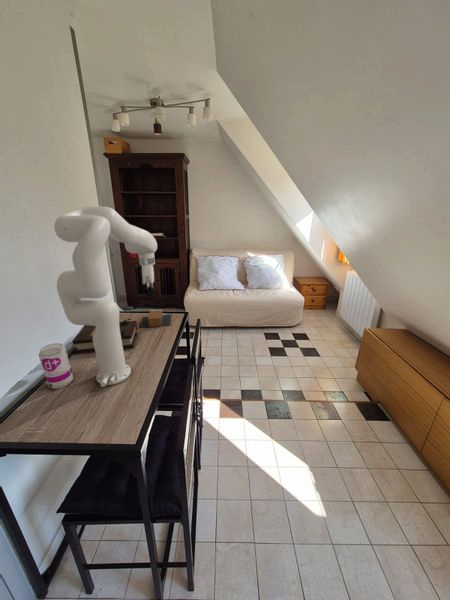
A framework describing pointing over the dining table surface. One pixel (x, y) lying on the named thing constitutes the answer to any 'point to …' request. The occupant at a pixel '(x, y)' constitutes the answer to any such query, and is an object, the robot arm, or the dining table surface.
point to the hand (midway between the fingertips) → (151, 295)
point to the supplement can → (56, 365)
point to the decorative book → (86, 333)
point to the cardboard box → (155, 318)
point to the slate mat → (164, 323)
